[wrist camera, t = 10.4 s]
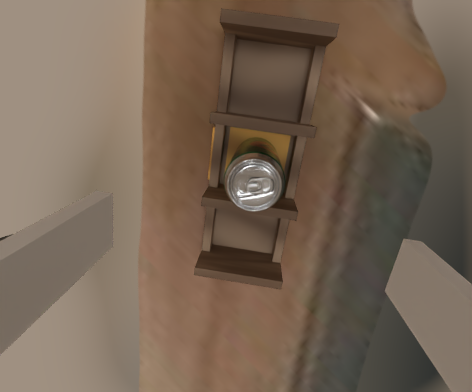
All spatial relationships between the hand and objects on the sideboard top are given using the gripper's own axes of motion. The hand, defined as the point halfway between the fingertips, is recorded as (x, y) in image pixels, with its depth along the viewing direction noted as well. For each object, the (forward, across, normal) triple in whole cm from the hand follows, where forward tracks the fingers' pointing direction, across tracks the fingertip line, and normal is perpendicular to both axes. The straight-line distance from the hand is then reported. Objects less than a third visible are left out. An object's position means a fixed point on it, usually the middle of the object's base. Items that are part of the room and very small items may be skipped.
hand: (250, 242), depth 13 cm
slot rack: (+22, 0, 0) cm, 22 cm away
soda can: (+22, 0, 0) cm, 22 cm away
